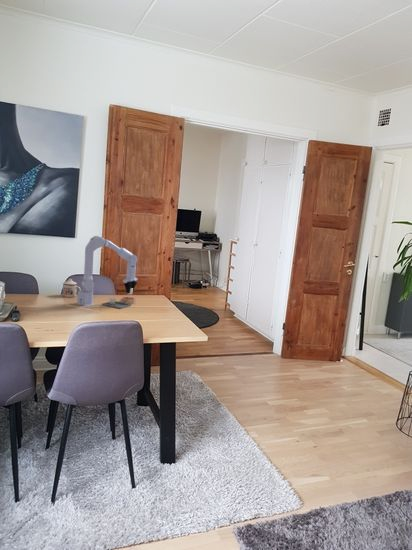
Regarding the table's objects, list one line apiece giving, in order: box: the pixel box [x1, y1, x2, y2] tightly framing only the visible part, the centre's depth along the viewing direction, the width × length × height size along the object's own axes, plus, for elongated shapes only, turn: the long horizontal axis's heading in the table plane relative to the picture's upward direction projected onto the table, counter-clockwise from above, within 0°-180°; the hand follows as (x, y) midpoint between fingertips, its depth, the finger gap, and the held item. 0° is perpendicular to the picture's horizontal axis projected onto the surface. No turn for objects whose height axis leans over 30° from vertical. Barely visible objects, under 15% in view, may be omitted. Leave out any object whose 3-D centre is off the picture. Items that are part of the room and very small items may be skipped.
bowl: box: [119, 296, 137, 305], centre depth 283 cm, size 10×10×3 cm
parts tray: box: [101, 300, 132, 310], centre depth 271 cm, size 12×14×2 cm
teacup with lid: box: [62, 278, 82, 298], centre depth 286 cm, size 12×9×12 cm
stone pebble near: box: [109, 297, 116, 305], centre depth 272 cm, size 4×4×4 cm
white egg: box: [126, 288, 134, 296], centre depth 280 cm, size 4×4×4 cm
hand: (129, 292), depth 281 cm, fingers closed on white egg, 4 cm apart
